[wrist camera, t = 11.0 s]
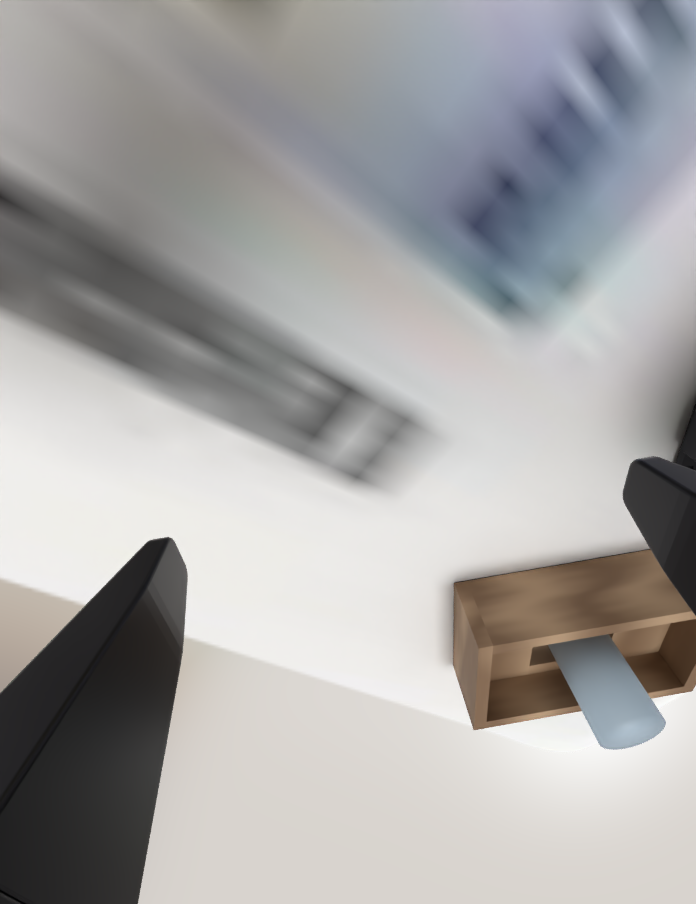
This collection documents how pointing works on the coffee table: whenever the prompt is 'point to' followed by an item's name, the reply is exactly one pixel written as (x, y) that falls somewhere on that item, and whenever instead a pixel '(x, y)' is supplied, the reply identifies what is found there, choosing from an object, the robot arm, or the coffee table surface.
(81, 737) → the robot arm
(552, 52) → the coffee table surface
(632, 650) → the caddy
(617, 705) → the peg
